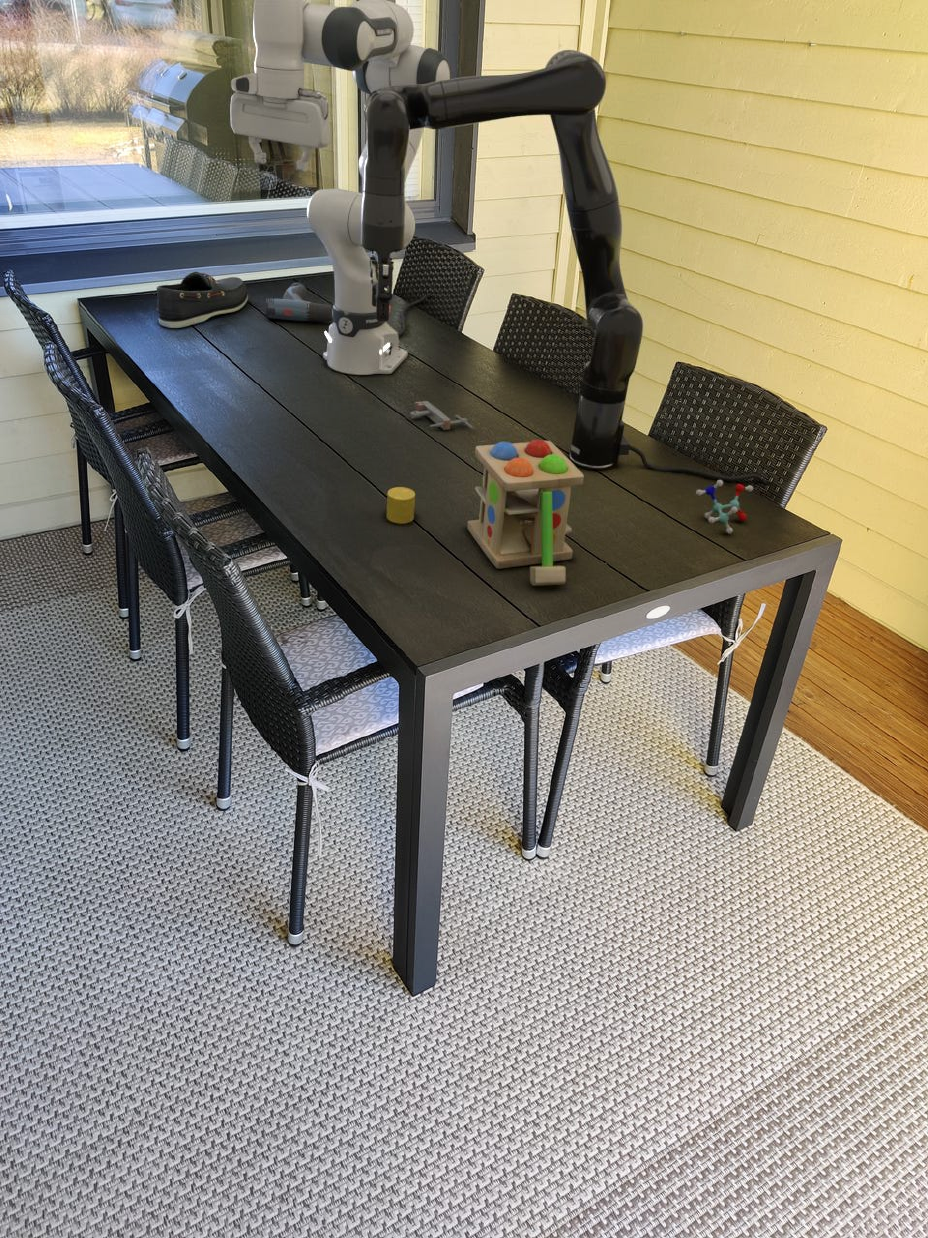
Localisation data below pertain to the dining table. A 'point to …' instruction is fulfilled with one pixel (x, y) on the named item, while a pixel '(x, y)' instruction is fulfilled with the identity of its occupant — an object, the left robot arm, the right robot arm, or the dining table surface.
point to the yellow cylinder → (400, 505)
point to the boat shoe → (199, 299)
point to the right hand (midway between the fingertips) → (379, 313)
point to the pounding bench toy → (525, 507)
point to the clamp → (436, 416)
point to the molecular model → (719, 507)
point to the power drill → (297, 306)
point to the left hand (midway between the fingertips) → (281, 166)
